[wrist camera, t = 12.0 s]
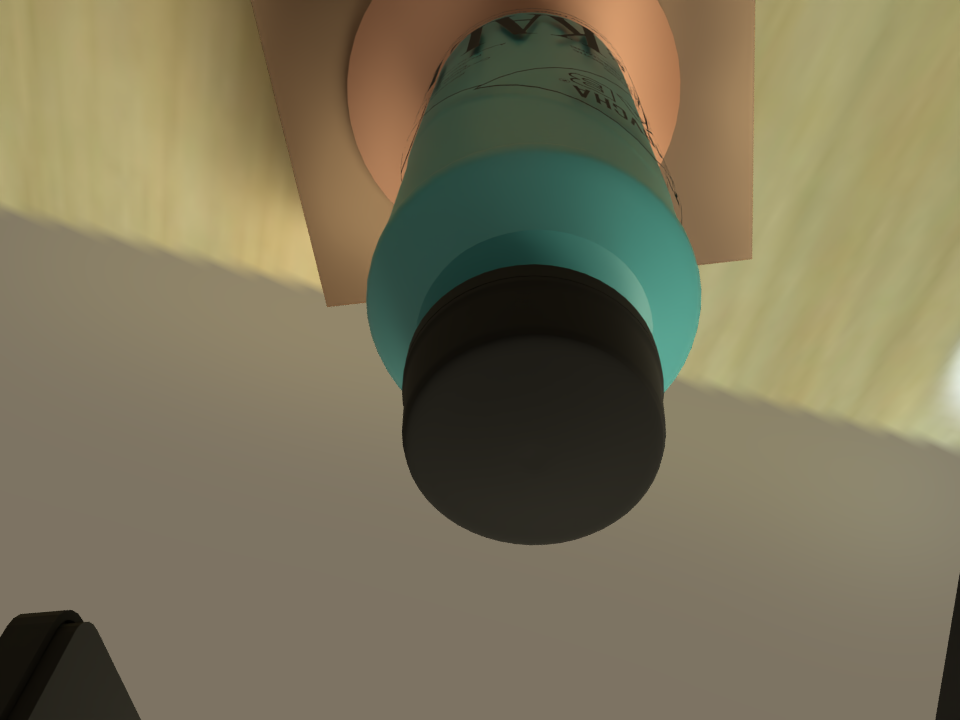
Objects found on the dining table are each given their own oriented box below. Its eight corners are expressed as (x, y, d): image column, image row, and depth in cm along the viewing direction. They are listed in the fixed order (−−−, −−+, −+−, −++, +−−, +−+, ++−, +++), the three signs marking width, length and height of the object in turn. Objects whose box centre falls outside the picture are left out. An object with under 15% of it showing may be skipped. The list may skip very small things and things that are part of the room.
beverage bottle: (563, 224, 33) (612, 678, 15) (395, 134, 31) (240, 523, 14) (668, 58, 30) (876, 392, 12) (487, -50, 28) (435, 157, 11)
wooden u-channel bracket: (706, -180, 34) (762, -180, 26) (710, 184, 41) (755, 265, 33) (282, -114, 35) (221, -95, 28) (356, 226, 42) (324, 314, 35)
